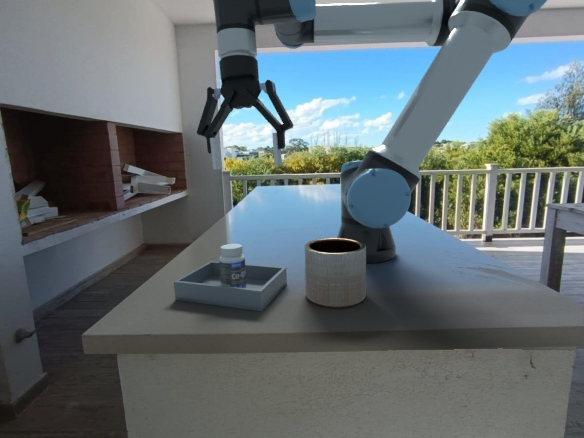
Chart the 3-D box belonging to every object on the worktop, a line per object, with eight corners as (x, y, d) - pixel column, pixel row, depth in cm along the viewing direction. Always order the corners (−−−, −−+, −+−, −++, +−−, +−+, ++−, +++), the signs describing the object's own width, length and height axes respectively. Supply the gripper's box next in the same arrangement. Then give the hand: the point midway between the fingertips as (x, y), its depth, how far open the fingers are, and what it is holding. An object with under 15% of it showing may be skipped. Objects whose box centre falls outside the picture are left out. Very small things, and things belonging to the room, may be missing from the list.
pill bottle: (235, 295, 61) (232, 250, 59) (216, 290, 63) (212, 247, 62) (251, 286, 65) (249, 244, 63) (233, 282, 67) (230, 241, 65)
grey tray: (286, 284, 67) (286, 267, 66) (262, 311, 55) (261, 291, 55) (211, 276, 72) (210, 261, 72) (175, 299, 61) (173, 281, 60)
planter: (363, 312, 54) (364, 255, 52) (298, 306, 57) (297, 252, 55) (367, 287, 64) (368, 238, 62) (312, 282, 67) (311, 236, 65)
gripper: (304, 55, 66) (309, 163, 70) (192, 71, 73) (202, 169, 77) (294, 43, 59) (301, 165, 63) (171, 62, 66) (184, 171, 70)
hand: (247, 167), depth 70 cm, fingers open, 13 cm apart
